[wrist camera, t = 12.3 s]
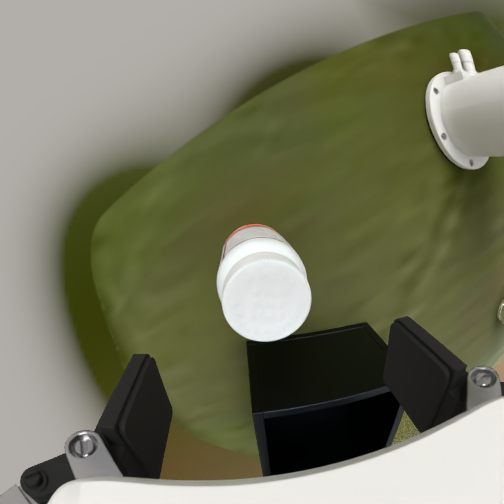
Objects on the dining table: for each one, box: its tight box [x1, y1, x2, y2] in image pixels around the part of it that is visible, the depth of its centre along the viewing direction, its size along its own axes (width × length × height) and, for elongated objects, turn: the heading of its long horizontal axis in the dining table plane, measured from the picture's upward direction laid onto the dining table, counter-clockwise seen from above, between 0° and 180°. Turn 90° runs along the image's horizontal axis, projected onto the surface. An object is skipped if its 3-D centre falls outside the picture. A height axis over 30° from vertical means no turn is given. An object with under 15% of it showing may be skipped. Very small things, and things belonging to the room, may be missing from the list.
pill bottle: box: [217, 224, 311, 342], centre depth 21 cm, size 6×6×11 cm
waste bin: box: [247, 322, 404, 477], centre depth 25 cm, size 16×14×11 cm
